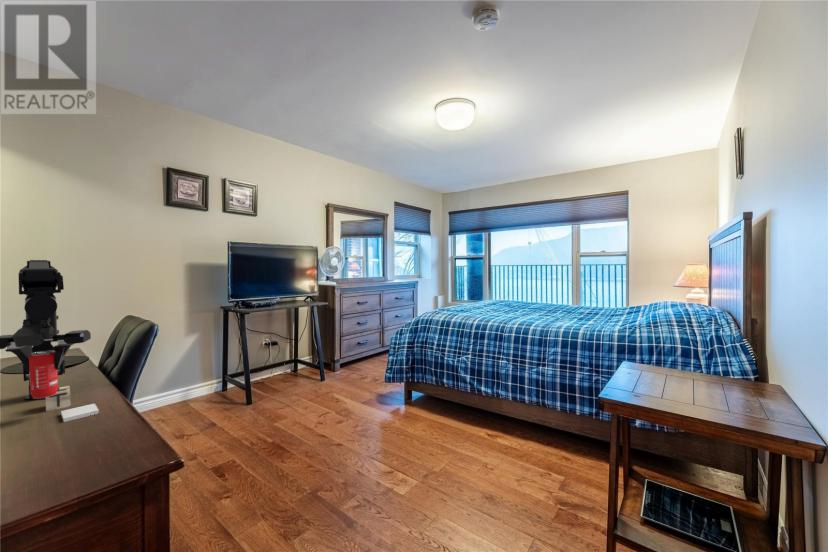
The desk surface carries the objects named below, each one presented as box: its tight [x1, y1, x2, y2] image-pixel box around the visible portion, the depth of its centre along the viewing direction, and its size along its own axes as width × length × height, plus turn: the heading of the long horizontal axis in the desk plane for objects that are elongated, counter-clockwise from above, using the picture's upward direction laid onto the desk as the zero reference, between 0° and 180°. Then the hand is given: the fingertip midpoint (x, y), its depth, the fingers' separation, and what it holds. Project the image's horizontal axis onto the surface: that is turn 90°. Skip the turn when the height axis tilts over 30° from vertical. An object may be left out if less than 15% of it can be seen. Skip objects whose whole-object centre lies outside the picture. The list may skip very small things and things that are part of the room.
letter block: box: [45, 385, 71, 412], centre depth 103 cm, size 5×5×5 cm
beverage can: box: [29, 350, 59, 400], centre depth 95 cm, size 5×5×12 cm
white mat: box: [60, 403, 100, 423], centre depth 97 cm, size 7×7×1 cm
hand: (43, 370), depth 95 cm, fingers closed on beverage can, 5 cm apart
